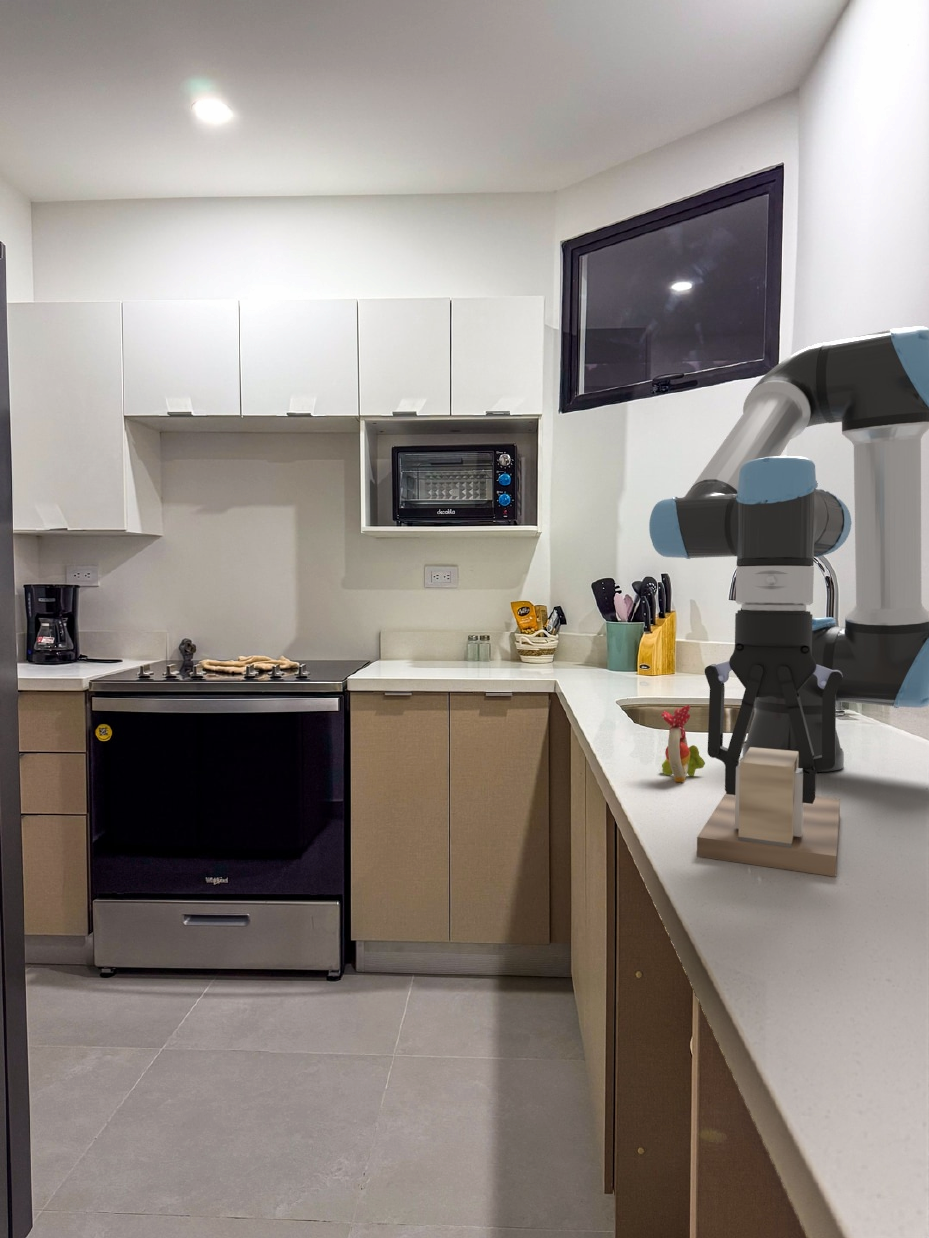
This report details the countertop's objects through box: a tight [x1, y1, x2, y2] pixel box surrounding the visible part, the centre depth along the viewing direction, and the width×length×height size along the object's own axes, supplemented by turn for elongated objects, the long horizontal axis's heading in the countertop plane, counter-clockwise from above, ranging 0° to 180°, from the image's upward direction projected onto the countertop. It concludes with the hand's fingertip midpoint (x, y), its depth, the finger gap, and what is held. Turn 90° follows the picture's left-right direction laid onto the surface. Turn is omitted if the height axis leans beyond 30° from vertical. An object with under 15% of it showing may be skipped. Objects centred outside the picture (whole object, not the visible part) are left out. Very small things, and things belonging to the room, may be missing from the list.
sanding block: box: [738, 747, 799, 848], centre depth 84 cm, size 9×5×8 cm, turn 154°
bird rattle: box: [660, 704, 706, 783], centre depth 117 cm, size 6×11×9 cm
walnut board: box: [696, 792, 841, 878], centre depth 90 cm, size 24×13×2 cm, turn 154°
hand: (768, 828), depth 84 cm, fingers closed on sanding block, 5 cm apart
